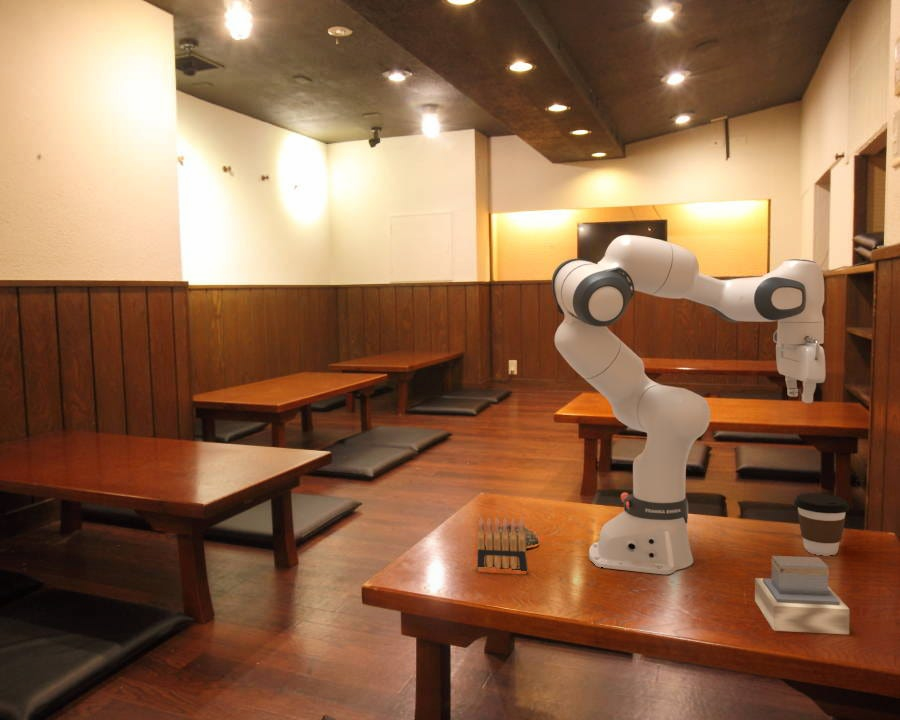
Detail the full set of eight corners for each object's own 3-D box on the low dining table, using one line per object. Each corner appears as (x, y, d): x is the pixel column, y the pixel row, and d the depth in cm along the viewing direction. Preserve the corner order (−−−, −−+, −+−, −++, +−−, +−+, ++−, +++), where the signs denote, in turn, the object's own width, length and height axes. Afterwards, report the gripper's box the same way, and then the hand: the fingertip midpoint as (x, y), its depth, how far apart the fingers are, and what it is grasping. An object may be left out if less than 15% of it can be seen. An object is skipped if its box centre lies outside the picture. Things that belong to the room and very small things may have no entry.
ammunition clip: (477, 572, 146) (475, 518, 145) (478, 569, 148) (477, 515, 147) (526, 575, 144) (525, 520, 143) (527, 571, 146) (526, 517, 145)
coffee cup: (860, 558, 147) (861, 504, 146) (812, 561, 146) (813, 507, 145) (828, 541, 158) (829, 491, 157) (783, 544, 157) (784, 493, 156)
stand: (773, 630, 117) (773, 602, 116) (754, 600, 128) (755, 575, 128) (849, 634, 115) (849, 605, 114) (823, 603, 126) (823, 577, 126)
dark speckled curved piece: (545, 549, 160) (544, 528, 159) (498, 558, 155) (497, 536, 155) (519, 533, 171) (518, 513, 171) (475, 540, 167) (474, 521, 166)
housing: (828, 595, 118) (828, 566, 118) (778, 593, 120) (779, 565, 119) (818, 585, 123) (819, 557, 122) (771, 583, 124) (771, 555, 124)
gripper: (834, 337, 135) (833, 406, 136) (800, 333, 155) (799, 393, 156) (800, 338, 136) (800, 406, 137) (771, 333, 156) (770, 393, 157)
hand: (799, 399), depth 147 cm, fingers open, 8 cm apart
